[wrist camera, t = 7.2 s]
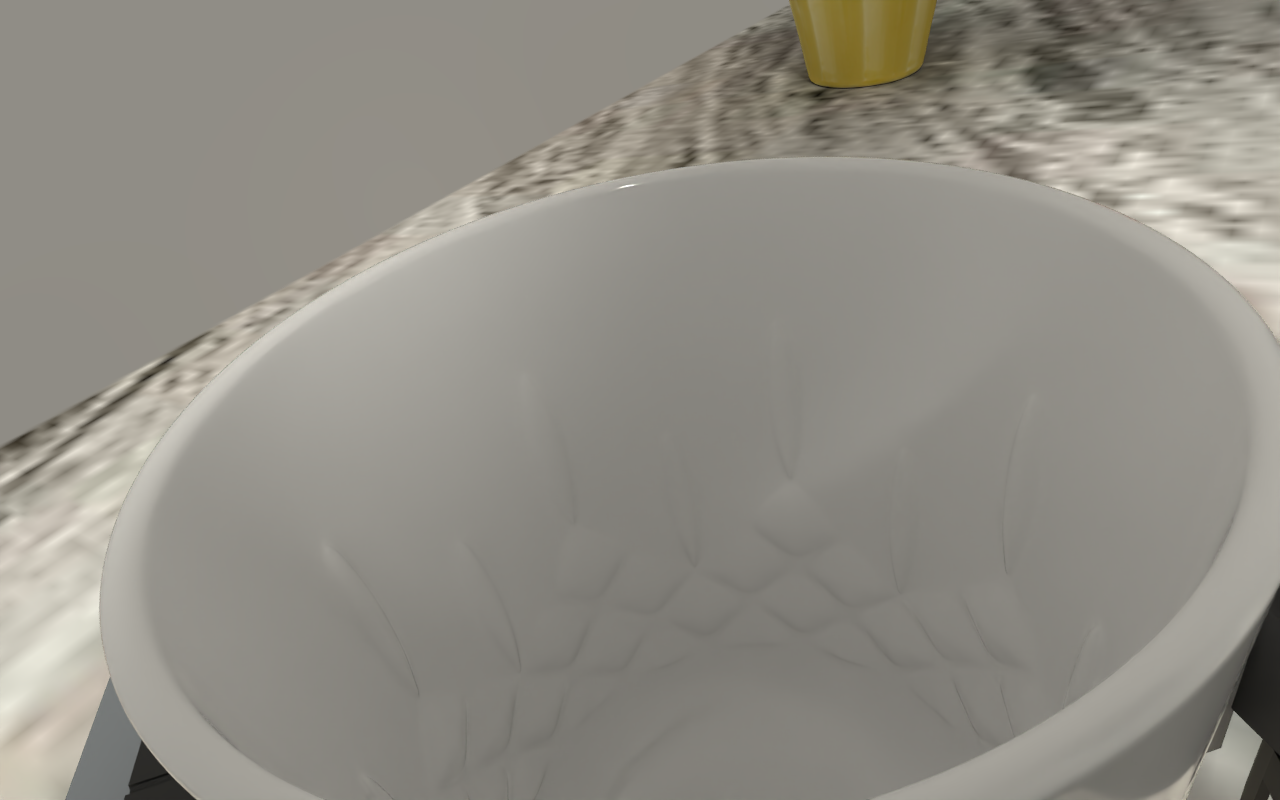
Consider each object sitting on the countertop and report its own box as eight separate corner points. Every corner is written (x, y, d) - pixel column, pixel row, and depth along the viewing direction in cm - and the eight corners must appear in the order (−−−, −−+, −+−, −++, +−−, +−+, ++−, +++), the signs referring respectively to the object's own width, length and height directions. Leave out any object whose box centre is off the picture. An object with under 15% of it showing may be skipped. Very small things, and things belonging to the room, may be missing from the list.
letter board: (724, 303, 29) (721, 285, 29) (937, 571, 18) (938, 547, 17) (206, 449, 27) (196, 432, 27) (67, 857, 16) (46, 838, 15)
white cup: (398, 978, 12) (-16, 447, 7) (740, 636, 16) (651, 127, 11) (860, 1672, 7) (670, 1769, 2) (1194, 919, 11) (1466, 218, 6)
